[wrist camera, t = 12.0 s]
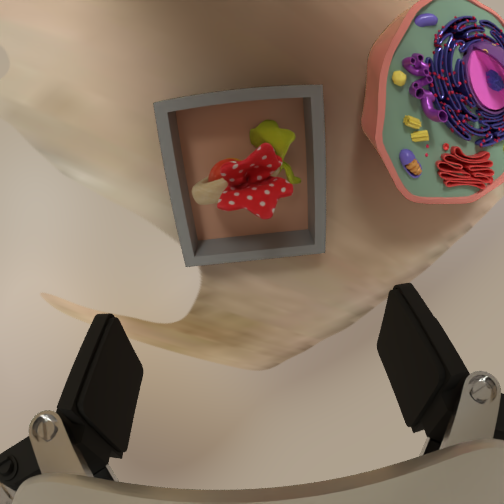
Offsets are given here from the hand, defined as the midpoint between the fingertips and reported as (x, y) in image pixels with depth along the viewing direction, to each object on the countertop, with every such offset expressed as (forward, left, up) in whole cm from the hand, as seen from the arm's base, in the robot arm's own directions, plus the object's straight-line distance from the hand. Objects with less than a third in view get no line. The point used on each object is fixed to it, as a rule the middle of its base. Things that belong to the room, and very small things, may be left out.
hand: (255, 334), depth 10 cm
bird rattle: (-1, 0, -20) cm, 20 cm away
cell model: (-7, +18, -21) cm, 28 cm away
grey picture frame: (0, 0, -20) cm, 20 cm away
